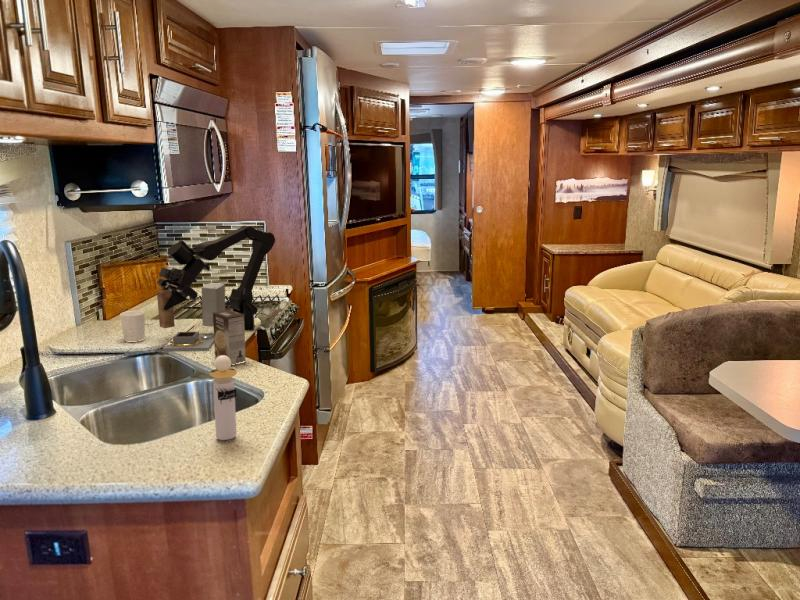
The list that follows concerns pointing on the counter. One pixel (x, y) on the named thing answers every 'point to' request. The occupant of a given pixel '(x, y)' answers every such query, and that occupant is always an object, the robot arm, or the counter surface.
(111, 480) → the counter surface
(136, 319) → the white cup
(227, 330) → the coffee box
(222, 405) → the perfume bottle
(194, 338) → the gears
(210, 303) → the skincare box
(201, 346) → the board
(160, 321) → the peg
